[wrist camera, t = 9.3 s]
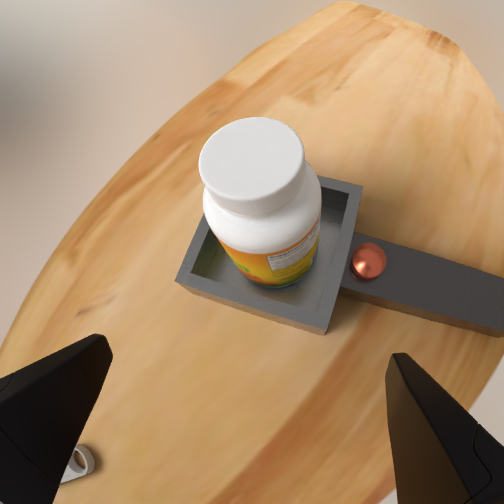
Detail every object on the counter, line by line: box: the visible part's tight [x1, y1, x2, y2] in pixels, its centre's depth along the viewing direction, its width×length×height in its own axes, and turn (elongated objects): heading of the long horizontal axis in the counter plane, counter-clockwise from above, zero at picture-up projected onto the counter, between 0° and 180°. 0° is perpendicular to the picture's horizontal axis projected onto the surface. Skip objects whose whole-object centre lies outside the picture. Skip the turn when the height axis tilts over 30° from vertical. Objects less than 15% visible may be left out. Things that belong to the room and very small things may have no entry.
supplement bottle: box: [199, 117, 322, 288], centre depth 15 cm, size 5×5×10 cm
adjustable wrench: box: [60, 445, 95, 483], centre depth 15 cm, size 25×6×2 cm, turn 120°
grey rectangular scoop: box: [175, 175, 504, 338], centre depth 17 cm, size 22×9×3 cm, turn 70°
